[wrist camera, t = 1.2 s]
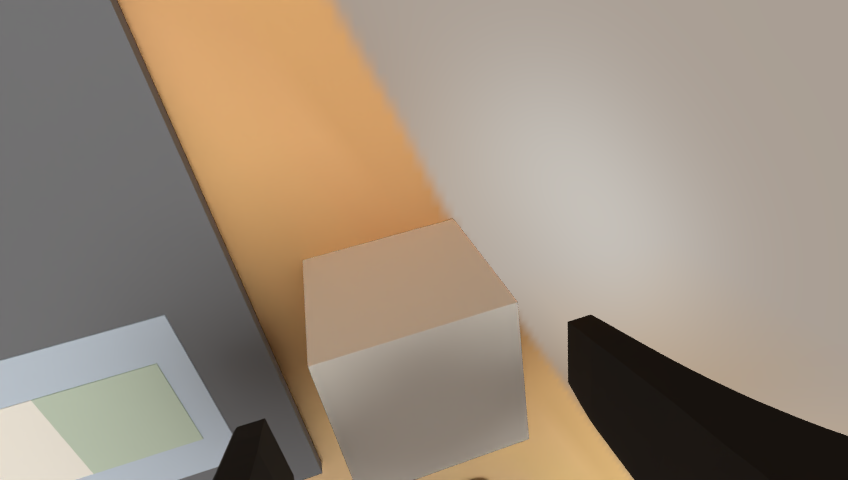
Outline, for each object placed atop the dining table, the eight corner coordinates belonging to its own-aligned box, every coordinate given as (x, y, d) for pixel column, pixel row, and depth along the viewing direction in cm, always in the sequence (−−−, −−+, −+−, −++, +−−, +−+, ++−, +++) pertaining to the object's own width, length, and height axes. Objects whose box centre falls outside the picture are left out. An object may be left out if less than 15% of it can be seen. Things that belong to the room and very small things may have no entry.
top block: (470, 332, 16) (528, 438, 12) (342, 372, 15) (360, 499, 11) (452, 217, 14) (517, 301, 10) (302, 258, 13) (307, 366, 9)
